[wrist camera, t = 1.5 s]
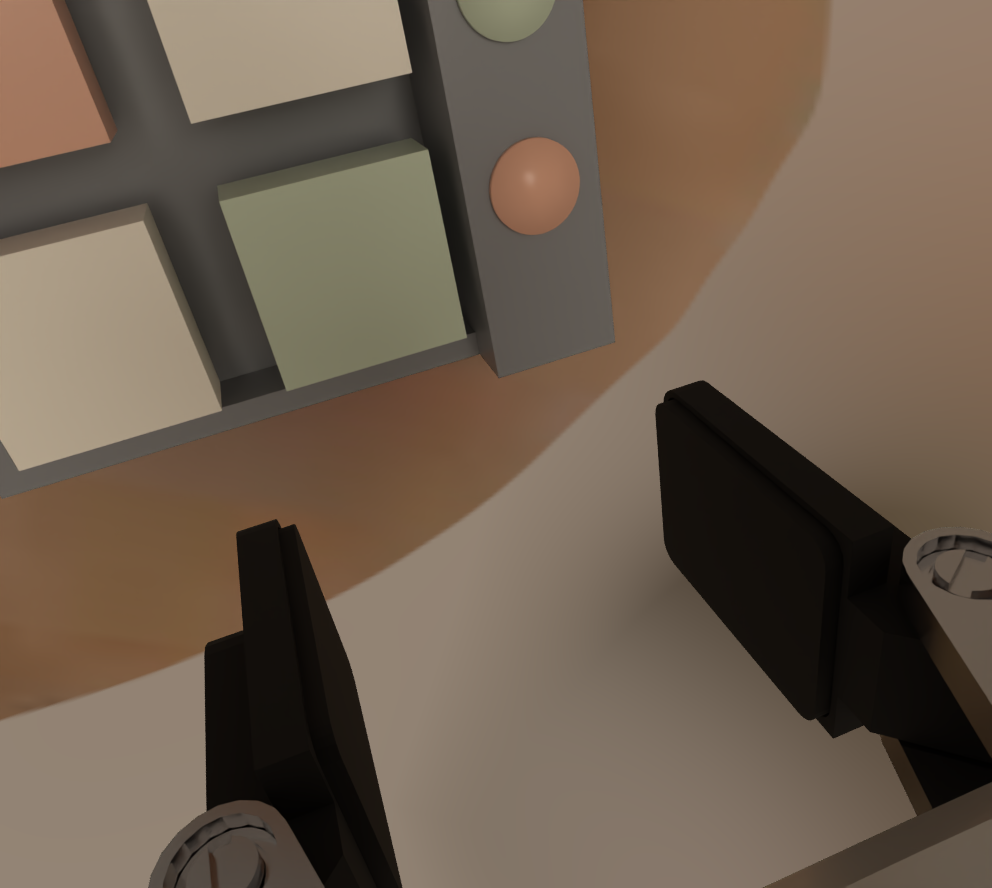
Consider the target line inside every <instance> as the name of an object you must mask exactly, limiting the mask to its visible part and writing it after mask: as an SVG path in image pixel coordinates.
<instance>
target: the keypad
mask: <svg viewBox="0 0 992 888" xmlns="http://www.w3.org/2000/svg"><path fill="white" fill-rule="evenodd" d="M397 1H398V6H399V11H400V16H401V20H402V25H403V30H404V35H405V40H406V45H407V49H408V54H409V59H410V64H411V69H412V73H409V74H405V75H400V76H396V77H392V78H387V79H383V80H379V81H374V82H370V83H366V84H361V85H357V86H353V87H348V88H344V89H340V90H335V91H331V92H327V93H322V94H318V95H314V96H309V97H305V98H301V99H296V100H292V101H288V102H283V103H279V104H275V105H270V106H266V107H262V108H257V109H253V110H249V111H244V112H240V113H236V114H232V115H227V116H223V117H219V118H214V119H210V120H206V121H201V122H197V123H193V124H191V122H190V119H189V116H188V114H187V111H186V108H185V105H184V102H183V100H182V97H181V94H180V91H179V88H178V86H177V83H176V80H175V77H174V74H173V72H172V69H171V66H170V63H169V60H168V58H167V55H166V52H165V49H164V46H163V44H162V41H161V38H160V35H159V32H158V30H157V27H156V24H155V21H154V18H153V16H152V13H151V10H150V7H149V4H148V2H147V0H65V2H66V5H67V7H68V10H69V12H70V14H71V17H72V19H73V22H74V24H75V27H76V29H77V32H78V34H79V37H80V39H81V41H82V44H83V46H84V49H85V51H86V54H87V56H88V59H89V61H90V64H91V66H92V69H93V71H94V73H95V76H96V78H97V81H98V83H99V86H100V88H101V91H102V93H103V96H104V98H105V100H106V103H107V105H108V108H109V110H110V113H111V115H112V118H113V120H114V123H115V125H116V128H117V132H116V134H115V136H114V137H113V139H112V141H111V142H110V143H106V144H102V145H97V146H93V147H89V148H84V149H80V150H76V151H71V152H67V153H63V154H58V155H54V156H50V157H45V158H41V159H37V160H32V161H28V162H24V163H19V164H15V165H11V166H6V167H2V168H0V239H3V238H7V237H11V236H15V235H19V234H23V233H27V232H32V231H36V230H40V229H44V228H48V227H52V226H56V225H60V224H64V223H68V222H72V221H76V220H80V219H84V218H88V217H92V216H96V215H100V214H105V213H109V212H113V211H117V210H121V209H125V208H129V207H133V206H137V205H141V204H145V203H147V204H148V206H149V209H150V211H151V214H152V216H153V218H154V221H155V223H156V226H157V228H158V231H159V233H160V236H161V238H162V241H163V243H164V246H165V248H166V250H167V253H168V255H169V258H170V260H171V263H172V265H173V268H174V270H175V273H176V275H177V277H178V280H179V282H180V285H181V287H182V290H183V292H184V295H185V297H186V300H187V302H188V305H189V307H190V309H191V312H192V314H193V317H194V319H195V322H196V324H197V327H198V329H199V332H200V334H201V337H202V339H203V341H204V344H205V346H206V349H207V351H208V354H209V356H210V359H211V361H212V364H213V366H214V368H215V371H216V373H217V376H218V378H219V381H220V387H221V403H222V411H220V412H216V413H213V414H210V415H206V416H203V417H200V418H196V419H193V420H189V421H186V422H183V423H179V424H176V425H173V426H169V427H166V428H163V429H159V430H156V431H153V432H149V433H146V434H143V435H139V436H136V437H132V438H129V439H126V440H122V441H119V442H116V443H112V444H109V445H106V446H102V447H99V448H96V449H92V450H89V451H86V452H82V453H79V454H75V455H72V456H69V457H65V458H62V459H59V460H55V461H52V462H49V463H45V464H42V465H39V466H35V467H32V468H29V469H25V470H22V471H19V470H18V468H17V467H16V465H15V463H14V462H13V460H12V459H11V457H10V455H9V454H8V452H7V450H6V449H5V447H4V445H3V444H2V442H1V440H0V496H1V498H2V499H3V498H6V497H10V496H13V495H16V494H20V493H23V492H26V491H29V490H33V489H36V488H39V487H43V486H46V485H49V484H53V483H56V482H59V481H62V480H66V479H69V478H72V477H76V476H79V475H82V474H86V473H89V472H92V471H95V470H99V469H102V468H105V467H109V466H112V465H115V464H119V463H122V462H125V461H128V460H132V459H135V458H138V457H142V456H145V455H148V454H151V453H155V452H158V451H161V450H165V449H168V448H171V447H175V446H178V445H181V444H184V443H188V442H191V441H194V440H198V439H201V438H204V437H208V436H211V435H214V434H217V433H221V432H224V431H227V430H231V429H234V428H237V427H241V426H244V425H247V424H250V423H254V422H257V421H260V420H264V419H267V418H270V417H274V416H277V415H280V414H283V413H287V412H290V411H293V410H297V409H300V408H303V407H307V406H310V405H313V404H316V403H320V402H323V401H326V400H330V399H333V398H336V397H340V396H343V395H346V394H349V393H353V392H356V391H359V390H363V389H366V388H369V387H373V386H376V385H379V384H382V383H386V382H389V381H392V380H396V379H399V378H402V377H406V376H409V375H412V374H415V373H419V372H422V371H425V370H429V369H432V368H435V367H439V366H442V365H445V364H448V363H452V362H455V361H458V360H462V359H465V358H468V357H472V356H475V355H478V354H480V355H481V356H482V357H483V359H484V360H485V361H486V362H487V364H488V365H489V366H490V368H491V369H492V370H493V371H494V373H495V374H496V375H497V376H498V378H501V377H504V376H508V375H511V374H514V373H517V372H521V371H524V370H527V369H530V368H533V367H537V366H540V365H543V364H546V363H550V362H553V361H556V360H559V359H562V358H566V357H569V356H572V355H575V354H579V353H582V352H585V351H588V350H591V349H595V348H598V347H601V346H604V345H608V344H611V343H614V342H615V336H614V325H613V315H612V304H611V294H610V283H609V273H608V262H607V252H606V241H605V231H604V220H603V210H602V199H601V188H600V178H599V167H598V157H597V146H596V136H595V125H594V115H593V104H592V94H591V83H590V73H589V62H588V52H587V41H586V31H585V20H584V10H583V0H397ZM409 138H412V139H414V140H415V141H417V142H418V143H420V144H421V145H422V146H424V147H425V148H427V149H428V151H429V156H430V161H431V166H432V171H433V175H434V180H435V185H436V190H437V195H438V200H439V204H440V209H441V214H442V219H443V224H444V229H445V233H446V238H447V243H448V248H449V253H450V258H451V262H452V267H453V272H454V277H455V282H456V287H457V292H458V296H459V301H460V306H461V311H462V316H463V321H464V325H465V330H466V335H467V338H464V339H461V340H458V341H454V342H451V343H448V344H444V345H441V346H438V347H434V348H431V349H428V350H424V351H421V352H418V353H414V354H411V355H407V356H404V357H401V358H397V359H394V360H391V361H387V362H384V363H381V364H377V365H374V366H371V367H367V368H364V369H360V370H357V371H354V372H350V373H347V374H344V375H340V376H337V377H334V378H330V379H327V380H324V381H320V382H317V383H314V384H310V385H307V386H303V387H300V388H297V389H293V390H290V391H286V388H285V385H284V382H283V380H282V377H281V374H280V371H279V368H278V366H277V363H276V360H275V357H274V354H273V352H272V349H271V346H270V343H269V340H268V338H267V335H266V332H265V329H264V326H263V324H262V321H261V318H260V315H259V312H258V310H257V307H256V304H255V301H254V298H253V296H252V293H251V290H250V287H249V284H248V282H247V279H246V276H245V273H244V270H243V268H242V265H241V262H240V259H239V256H238V254H237V251H236V248H235V245H234V242H233V240H232V237H231V234H230V231H229V228H228V226H227V223H226V220H225V217H224V214H223V212H222V209H221V206H220V203H219V197H218V188H217V186H218V185H222V184H226V183H230V182H234V181H238V180H242V179H246V178H251V177H255V176H259V175H263V174H267V173H271V172H275V171H279V170H283V169H287V168H291V167H295V166H299V165H303V164H307V163H311V162H315V161H319V160H324V159H328V158H332V157H336V156H340V155H344V154H348V153H352V152H356V151H360V150H364V149H368V148H372V147H376V146H380V145H384V144H388V143H392V142H397V141H401V140H405V139H409Z"/></svg>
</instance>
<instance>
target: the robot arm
mask: <svg viewBox="0 0 992 888" xmlns="http://www.w3.org/2000/svg"><path fill="white" fill-rule="evenodd" d="M655 415H656V429H657V444H658V458H659V472H660V486H661V487H660V488H661V502H662V517H663V531H664V542H665V546H666V550H667V552H668V554H669V556H670V558H671V560H672V561H673V563H674V564H675V565H676V567H677V568H678V569H679V570H680V571H681V573H682V574H683V575H684V576H685V577H686V579H687V580H688V581H689V582H690V583H691V584H692V586H693V587H694V588H695V589H696V590H697V592H698V593H699V594H700V595H701V596H702V598H703V599H704V600H705V601H706V602H707V604H708V605H709V606H710V607H711V608H712V610H713V611H714V612H715V613H716V614H717V616H718V617H719V618H720V619H721V620H722V622H723V623H724V624H725V625H726V626H727V628H728V629H729V630H730V631H731V632H732V634H733V635H734V636H735V637H736V638H737V640H738V641H739V642H740V643H741V644H742V646H743V647H744V648H745V649H746V650H747V652H748V653H749V654H750V655H751V656H752V658H753V659H754V660H755V661H756V662H757V664H758V665H759V666H760V667H761V668H762V670H763V671H764V672H765V673H766V674H767V675H768V677H769V678H770V679H771V680H772V682H773V683H774V684H775V685H776V686H777V688H778V689H779V690H780V691H781V692H782V694H783V695H784V696H785V697H786V698H787V699H788V701H789V702H790V703H791V704H792V706H793V707H794V708H795V709H796V710H797V712H798V713H799V714H800V715H801V716H802V717H804V718H805V719H807V720H813V719H815V718H816V719H817V720H818V721H819V723H820V724H821V725H822V726H823V727H824V728H825V729H826V731H827V732H828V733H829V734H830V735H831V736H832V738H836V737H838V736H840V735H843V734H845V733H847V732H849V731H852V730H854V729H856V728H859V727H861V726H863V725H864V726H865V727H866V728H867V729H868V730H869V731H870V732H872V733H876V734H879V735H880V738H881V742H882V744H883V746H884V748H885V750H886V752H887V754H888V756H889V758H890V761H891V762H892V765H893V767H894V769H895V771H896V773H897V775H898V777H899V779H900V782H901V784H902V786H903V787H904V790H905V792H906V794H907V796H908V798H909V800H910V802H911V804H912V807H913V809H914V811H915V813H916V815H917V816H916V817H914V818H912V819H910V820H908V821H906V822H903V823H901V824H899V825H897V826H895V827H892V828H890V829H888V830H886V831H884V832H882V833H880V834H877V835H875V836H873V837H871V838H869V839H867V840H864V841H862V842H860V843H858V844H856V845H854V846H851V847H849V848H847V849H845V850H843V851H841V852H839V853H836V854H834V855H832V856H830V857H828V858H826V859H823V860H821V861H819V862H817V863H815V864H813V865H811V866H808V867H806V868H804V869H802V870H800V871H798V872H795V873H793V874H791V875H789V876H787V877H785V878H782V879H781V880H778V881H776V882H774V883H772V884H770V885H767V886H765V887H763V888H992V533H989V532H986V531H983V530H977V529H971V528H964V527H946V528H945V527H944V528H938V529H933V530H929V531H925V532H923V533H921V534H919V535H917V536H916V537H914V538H912V539H911V538H910V537H908V536H907V535H906V534H904V533H903V532H902V531H900V530H899V529H898V528H896V527H895V526H894V525H893V524H891V523H890V522H889V521H887V520H886V519H885V518H884V517H882V516H881V515H880V514H878V513H877V512H876V511H874V510H873V509H872V508H871V507H869V506H868V505H867V504H865V503H864V502H863V501H861V500H860V499H859V498H857V497H856V496H855V495H854V494H852V493H851V492H850V491H848V490H847V489H846V488H844V487H843V486H842V485H841V484H839V483H838V482H837V481H835V480H834V479H833V478H831V477H830V476H829V475H827V474H826V473H825V472H824V471H822V470H821V469H820V468H818V467H817V466H816V465H814V464H813V463H812V462H810V461H809V460H808V459H806V458H805V457H804V456H803V455H801V454H800V453H799V452H797V451H796V450H795V449H793V448H792V447H791V446H789V445H788V444H787V443H786V442H784V441H783V440H782V439H780V438H779V437H778V436H777V435H775V434H774V433H773V432H771V431H770V430H769V429H767V428H766V427H765V426H763V425H762V424H761V423H760V422H758V421H757V420H756V419H754V418H753V417H752V416H750V415H749V414H748V413H746V412H745V411H744V410H743V409H741V408H740V407H739V406H737V405H736V404H735V403H734V402H732V401H731V400H730V399H728V398H727V397H726V396H724V395H723V394H722V393H720V392H719V391H718V390H716V389H715V388H714V387H712V386H711V385H710V384H709V383H707V382H705V381H697V382H694V383H691V384H688V385H685V386H682V387H679V388H676V389H673V390H670V391H668V392H667V393H666V394H665V396H664V402H663V403H660V404H658V405H657V407H656V414H655ZM236 539H237V552H238V565H239V579H240V592H241V605H242V619H243V631H240V632H237V633H234V634H231V635H228V636H225V637H223V638H220V639H217V640H214V641H211V642H208V643H207V645H206V647H205V656H204V657H205V658H204V659H205V732H206V801H207V802H206V803H207V804H206V805H207V812H205V813H203V814H201V815H199V816H198V817H196V818H195V819H194V820H192V821H191V822H190V823H189V824H188V825H187V826H186V827H184V828H183V829H182V830H181V831H179V832H178V833H177V835H176V836H175V837H174V838H173V839H172V841H171V842H170V843H169V844H168V846H167V847H166V848H165V850H164V851H163V852H162V853H161V855H160V857H159V860H158V862H157V864H156V866H155V868H154V870H153V872H152V874H151V877H150V882H149V887H148V888H402V884H401V880H400V875H399V871H398V867H397V863H396V858H395V853H394V849H393V845H392V840H391V836H390V832H389V827H388V823H387V819H386V815H385V810H384V806H383V802H382V797H381V793H380V789H379V784H378V780H377V775H376V771H375V767H374V762H373V758H372V754H371V749H370V745H369V741H368V736H367V732H366V728H365V723H364V719H363V715H362V711H361V706H360V702H359V698H358V693H357V689H356V684H355V680H354V676H353V673H352V669H351V666H350V663H349V660H348V657H347V655H346V652H345V650H344V647H343V645H342V642H341V640H340V637H339V634H338V632H337V629H336V626H335V624H334V621H333V619H332V616H331V614H330V611H329V609H328V606H327V603H326V601H325V598H324V596H323V593H322V591H321V588H320V586H319V583H318V580H317V578H316V575H315V573H314V570H313V568H312V565H311V563H310V560H309V557H308V555H307V552H306V550H305V547H304V545H303V542H302V540H301V537H300V534H299V532H298V530H297V527H296V525H295V524H293V525H290V526H287V527H284V528H281V526H280V524H279V522H278V521H277V520H276V519H275V520H272V521H269V522H266V523H263V524H260V525H257V526H254V527H251V528H247V529H244V530H241V531H238V532H237V534H236Z"/></svg>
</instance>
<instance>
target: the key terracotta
mask: <svg viewBox="0 0 992 888" xmlns="http://www.w3.org/2000/svg"><path fill="white" fill-rule="evenodd" d="M116 132H117V128H116V125H115V123H114V120H113V118H112V115H111V113H110V110H109V108H108V105H107V103H106V100H105V98H104V96H103V93H102V91H101V88H100V86H99V83H98V81H97V78H96V76H95V73H94V71H93V69H92V66H91V64H90V61H89V59H88V56H87V54H86V51H85V49H84V46H83V44H82V41H81V39H80V37H79V34H78V32H77V29H76V27H75V24H74V22H73V19H72V17H71V14H70V12H69V10H68V7H67V5H66V2H65V0H0V168H2V167H6V166H11V165H15V164H19V163H24V162H28V161H32V160H37V159H41V158H45V157H50V156H54V155H58V154H63V153H67V152H71V151H76V150H80V149H84V148H89V147H93V146H97V145H102V144H106V143H110V142H111V141H112V139H113V137H114V136H115V134H116Z"/></svg>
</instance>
